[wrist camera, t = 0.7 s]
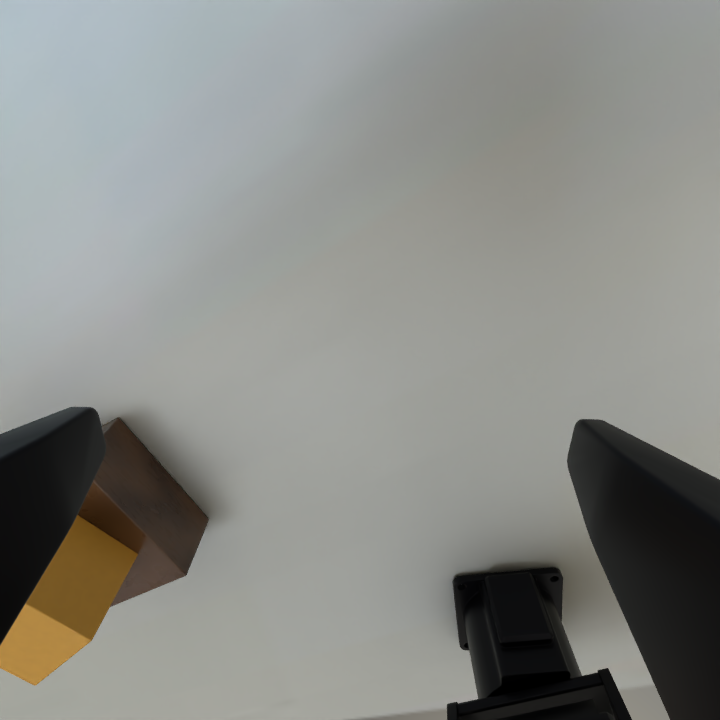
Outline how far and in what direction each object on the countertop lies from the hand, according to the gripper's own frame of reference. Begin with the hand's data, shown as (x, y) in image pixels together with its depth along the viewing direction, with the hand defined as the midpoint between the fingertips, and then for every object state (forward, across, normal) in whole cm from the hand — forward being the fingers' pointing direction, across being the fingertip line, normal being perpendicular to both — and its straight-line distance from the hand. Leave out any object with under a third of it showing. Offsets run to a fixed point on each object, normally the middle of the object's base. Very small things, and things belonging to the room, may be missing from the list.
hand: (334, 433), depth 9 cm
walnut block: (+14, +14, +14) cm, 24 cm away
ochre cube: (+10, +14, +14) cm, 22 cm away
